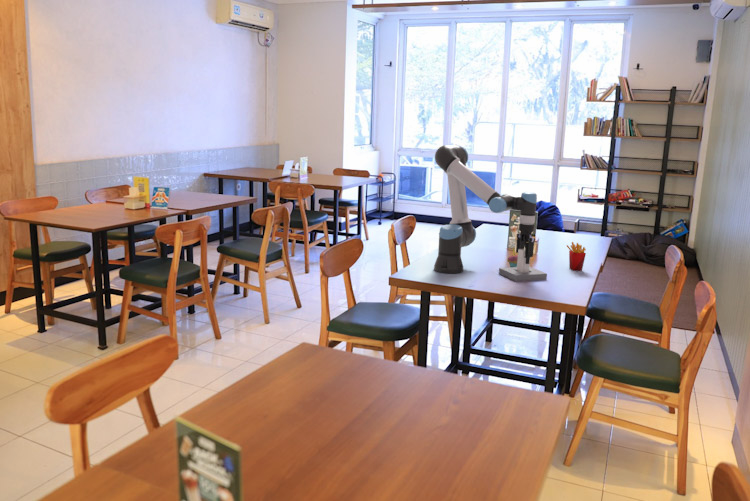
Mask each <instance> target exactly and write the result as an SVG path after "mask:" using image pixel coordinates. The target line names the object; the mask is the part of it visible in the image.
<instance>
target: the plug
mask: <svg viewBox="0 0 750 501" xmlns="http://www.w3.org/2000/svg"><path fill="white" fill-rule="evenodd" d="M517 256H518V259H517V271H518V272H520V273H525V272H529V270H523V266H524V257H525V248H524V249H518V253H517ZM530 265H531V261H530V262H529V267H531V266H530Z"/></svg>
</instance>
